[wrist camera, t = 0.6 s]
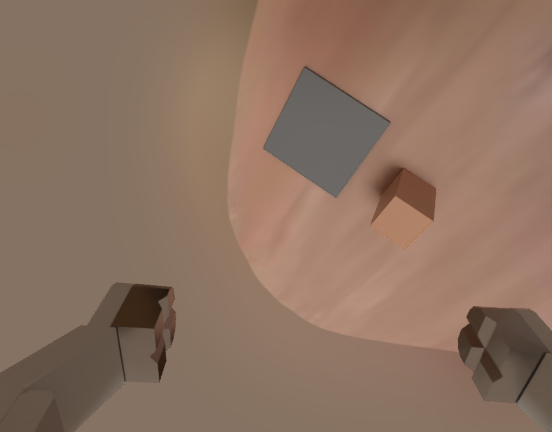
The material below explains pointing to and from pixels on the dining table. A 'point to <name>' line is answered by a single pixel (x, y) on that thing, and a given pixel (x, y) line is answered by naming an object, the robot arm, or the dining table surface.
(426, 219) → the tan rectangular pillar
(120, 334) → the robot arm
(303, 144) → the grey mat
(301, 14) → the dining table surface
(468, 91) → the dining table surface
